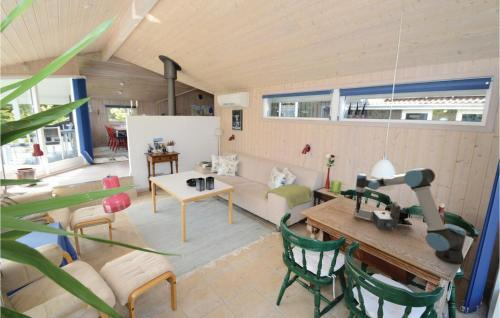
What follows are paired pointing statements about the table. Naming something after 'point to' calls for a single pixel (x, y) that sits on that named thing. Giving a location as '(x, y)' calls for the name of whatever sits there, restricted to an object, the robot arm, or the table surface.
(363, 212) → the side door
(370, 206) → the table surface
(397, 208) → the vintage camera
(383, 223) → the camera housing
